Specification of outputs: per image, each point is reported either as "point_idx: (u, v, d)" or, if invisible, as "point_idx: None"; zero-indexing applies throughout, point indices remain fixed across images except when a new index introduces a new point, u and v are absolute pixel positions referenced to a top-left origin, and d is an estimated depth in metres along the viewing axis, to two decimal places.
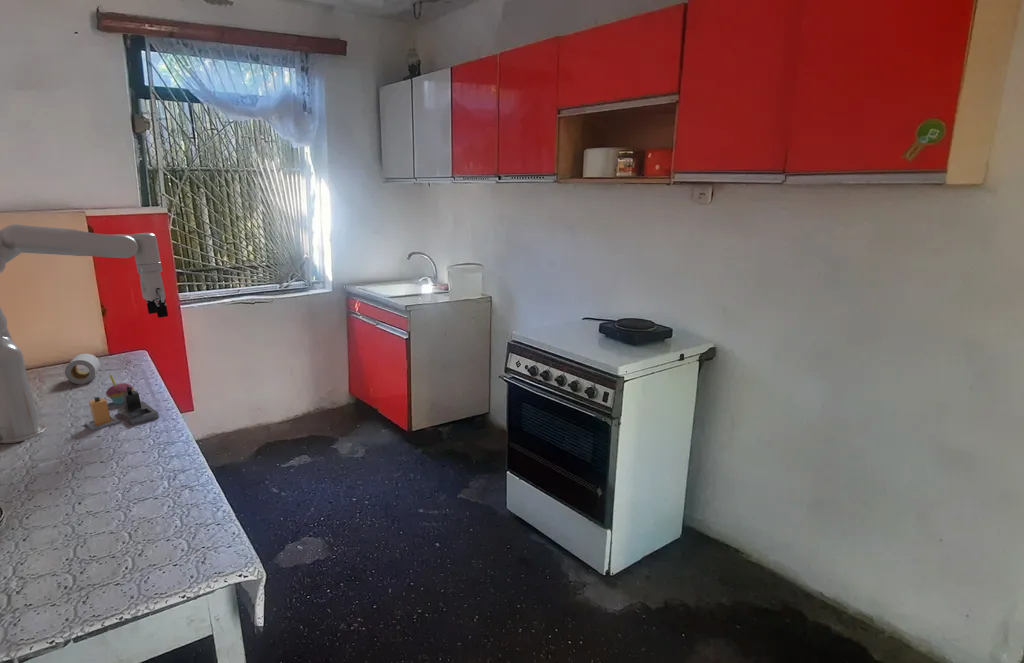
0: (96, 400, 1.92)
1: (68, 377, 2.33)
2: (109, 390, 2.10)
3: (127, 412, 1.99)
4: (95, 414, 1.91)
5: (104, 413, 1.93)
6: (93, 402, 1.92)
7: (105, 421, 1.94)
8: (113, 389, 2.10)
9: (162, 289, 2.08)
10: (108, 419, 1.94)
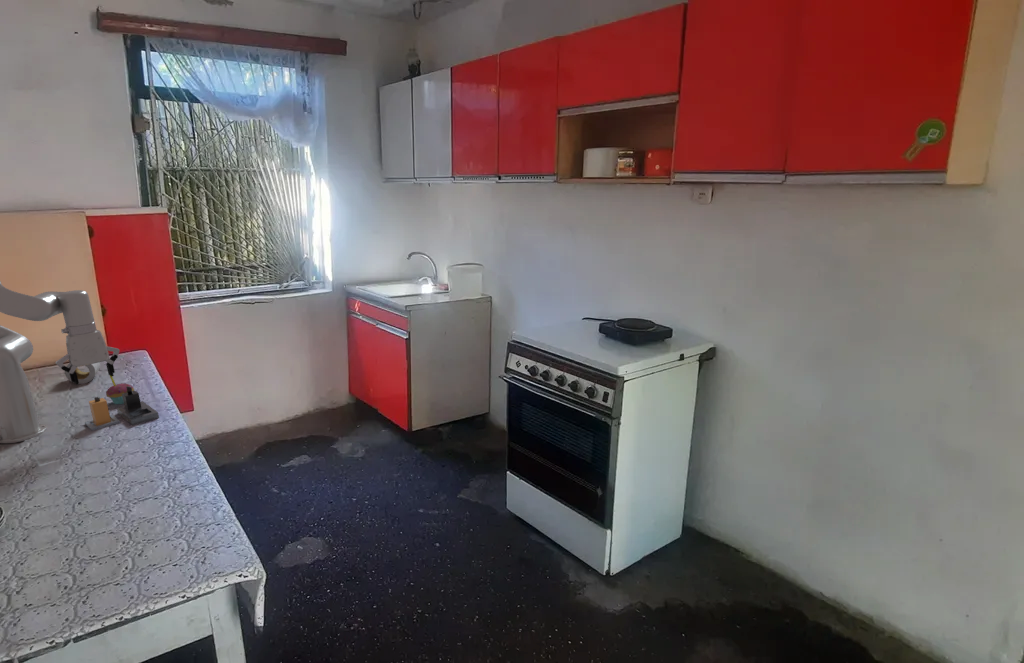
0: (96, 400, 1.92)
1: (68, 377, 2.33)
2: (109, 390, 2.10)
3: (127, 412, 1.99)
4: (95, 414, 1.91)
5: (104, 413, 1.93)
6: (93, 402, 1.92)
7: (105, 421, 1.94)
8: (113, 389, 2.10)
9: None
10: (108, 419, 1.94)
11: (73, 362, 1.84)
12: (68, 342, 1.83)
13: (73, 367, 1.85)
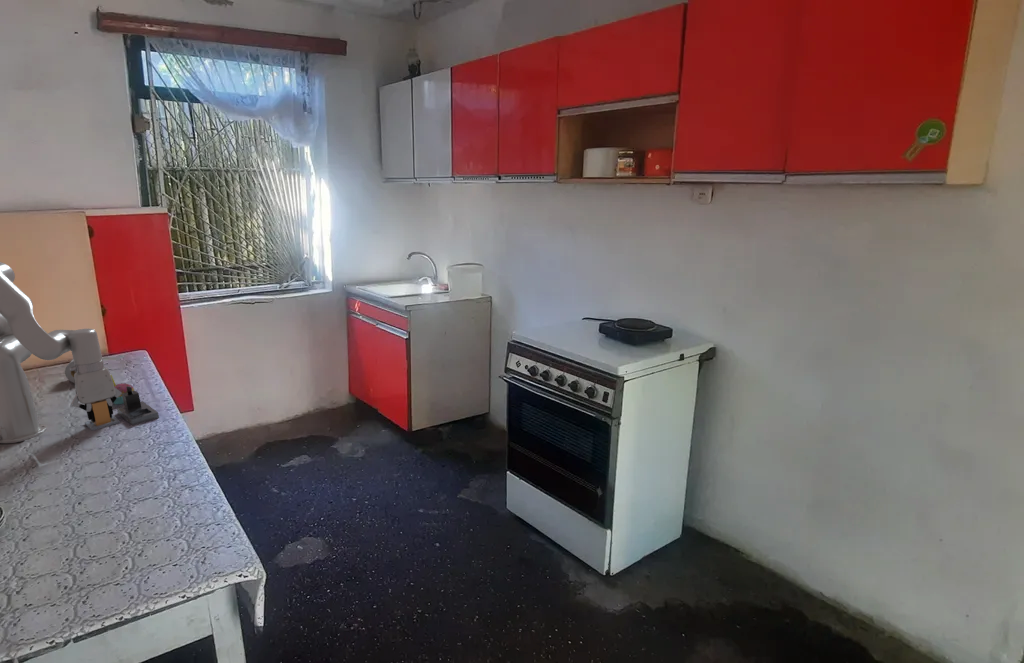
0: None
1: (68, 377, 2.33)
2: None
3: (127, 412, 1.99)
4: (95, 414, 1.91)
5: (104, 413, 1.93)
6: (93, 402, 1.92)
7: (105, 421, 1.94)
8: None
9: None
10: (108, 419, 1.94)
11: (81, 399, 1.87)
12: (76, 380, 1.86)
13: (88, 405, 1.90)
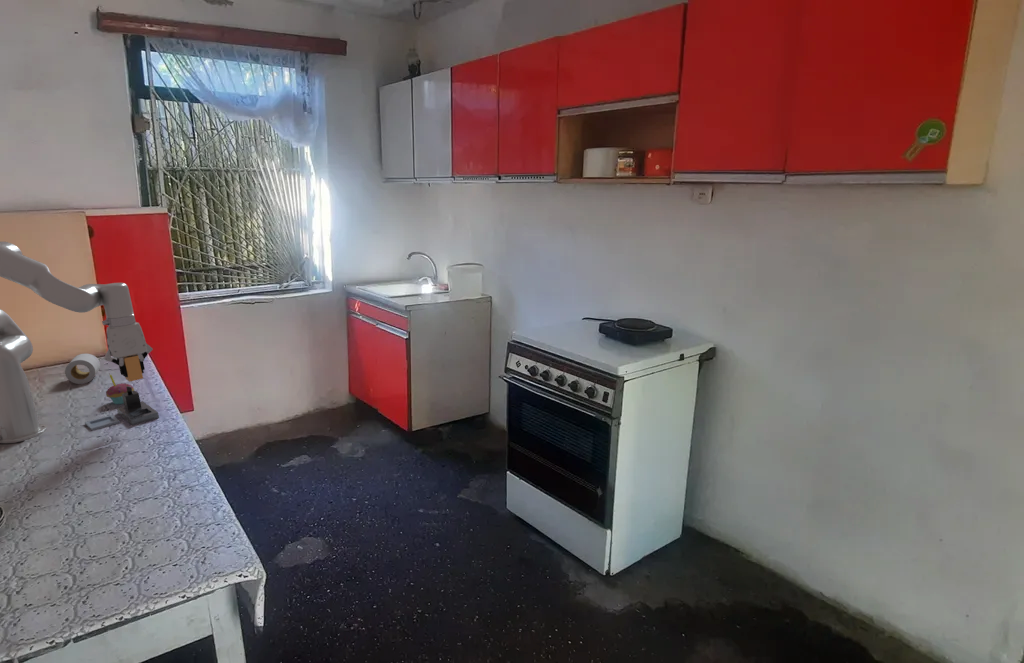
0: None
1: (68, 377, 2.33)
2: (109, 390, 2.10)
3: (127, 412, 1.99)
4: (127, 369, 1.91)
5: (136, 368, 1.93)
6: (125, 357, 1.92)
7: (137, 376, 1.94)
8: (113, 389, 2.10)
9: None
10: (140, 374, 1.94)
11: (113, 353, 1.87)
12: (109, 334, 1.86)
13: (120, 360, 1.90)
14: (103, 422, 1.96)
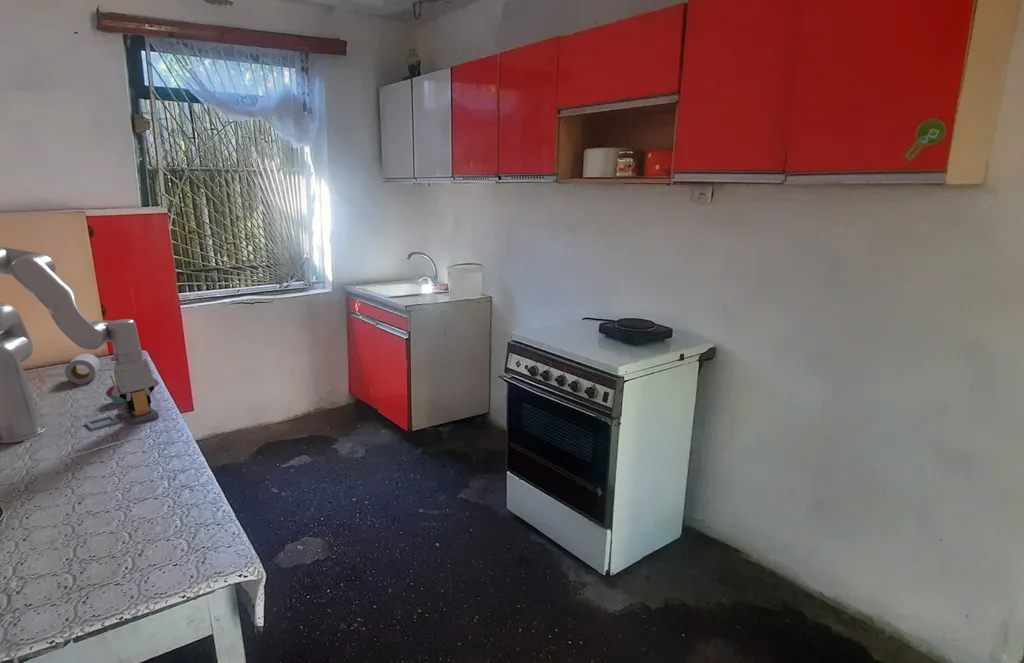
0: None
1: (68, 377, 2.33)
2: (109, 390, 2.10)
3: (127, 412, 1.99)
4: (134, 403, 1.95)
5: (143, 402, 1.96)
6: None
7: (144, 410, 1.97)
8: (113, 389, 2.10)
9: None
10: (147, 408, 1.98)
11: (121, 389, 1.90)
12: (117, 370, 1.89)
13: (127, 395, 1.93)
14: (103, 422, 1.96)
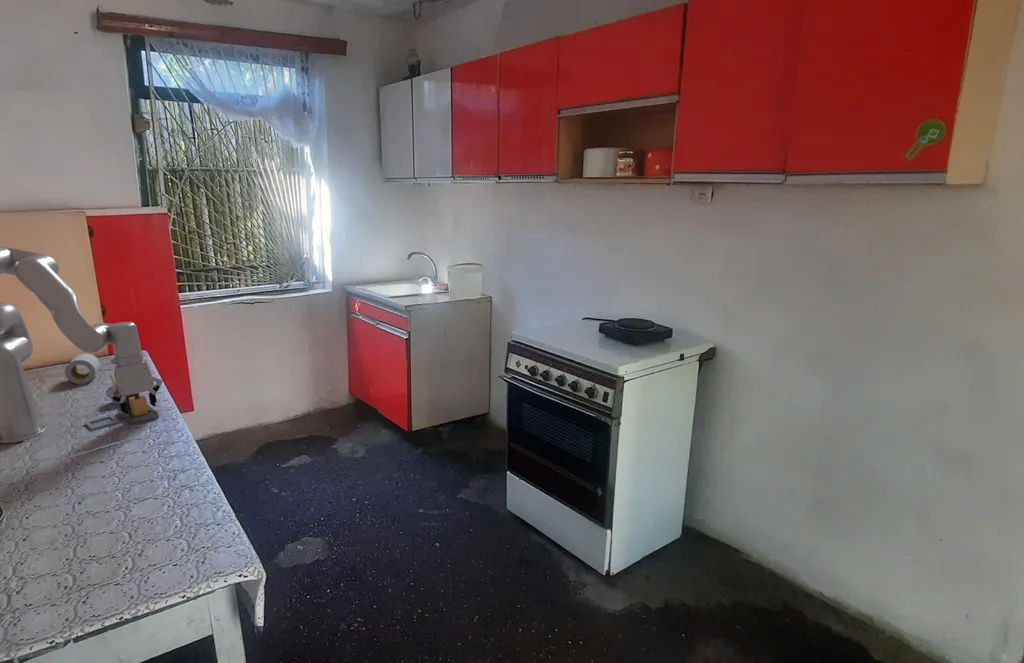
0: (136, 397, 1.96)
1: (68, 377, 2.33)
2: None
3: None
4: (135, 410, 1.95)
5: (144, 409, 1.97)
6: (133, 399, 1.95)
7: None
8: None
9: None
10: None
11: (121, 391, 1.91)
12: (117, 372, 1.90)
13: (122, 397, 1.92)
14: (103, 422, 1.96)
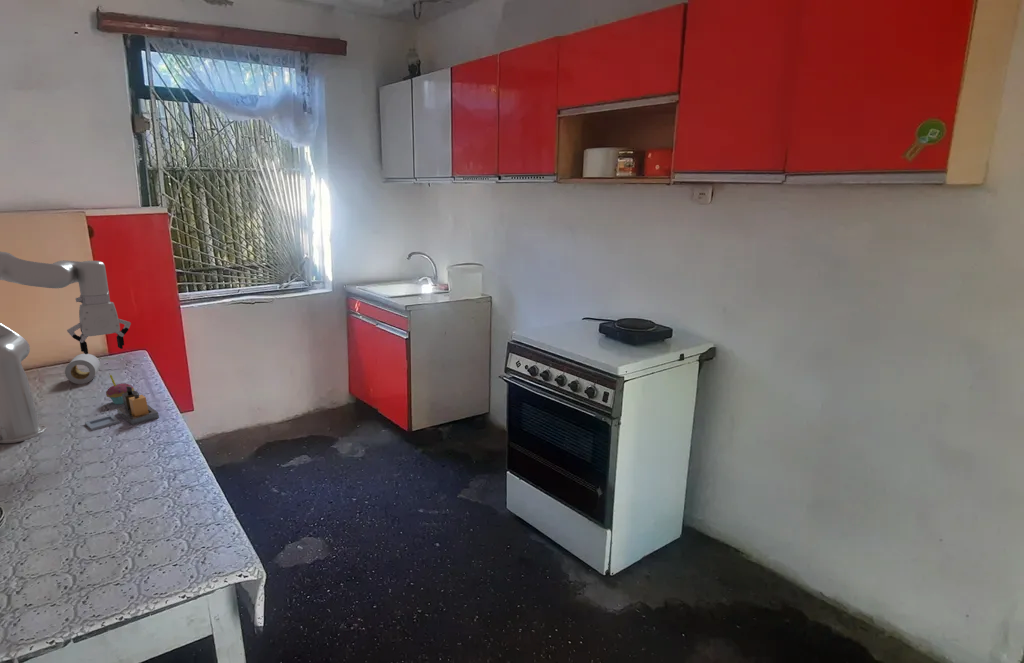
0: (136, 397, 1.96)
1: (68, 377, 2.33)
2: (109, 390, 2.10)
3: (127, 412, 1.99)
4: (135, 410, 1.95)
5: (144, 409, 1.97)
6: (133, 399, 1.95)
7: None
8: (113, 389, 2.10)
9: None
10: None
11: (84, 331, 1.86)
12: (81, 311, 1.85)
13: (84, 336, 1.87)
14: (103, 422, 1.96)
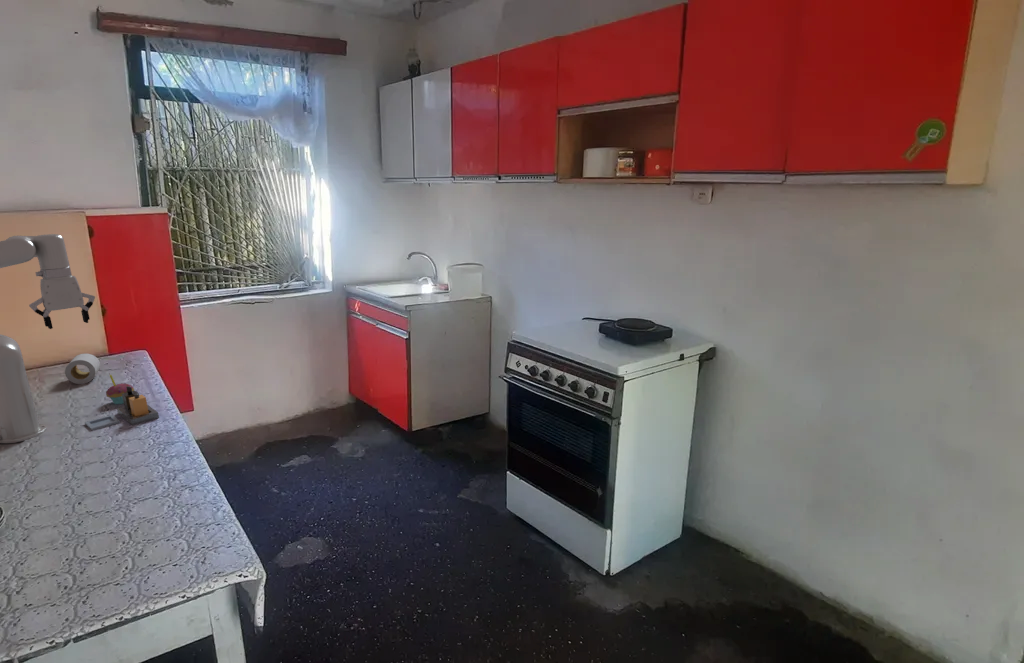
0: (136, 397, 1.96)
1: (68, 377, 2.33)
2: (109, 390, 2.10)
3: (127, 412, 1.99)
4: (135, 410, 1.95)
5: (144, 409, 1.97)
6: (133, 399, 1.95)
7: None
8: (113, 389, 2.10)
9: None
10: None
11: (47, 305, 1.84)
12: (42, 285, 1.83)
13: (47, 311, 1.86)
14: (103, 422, 1.96)
